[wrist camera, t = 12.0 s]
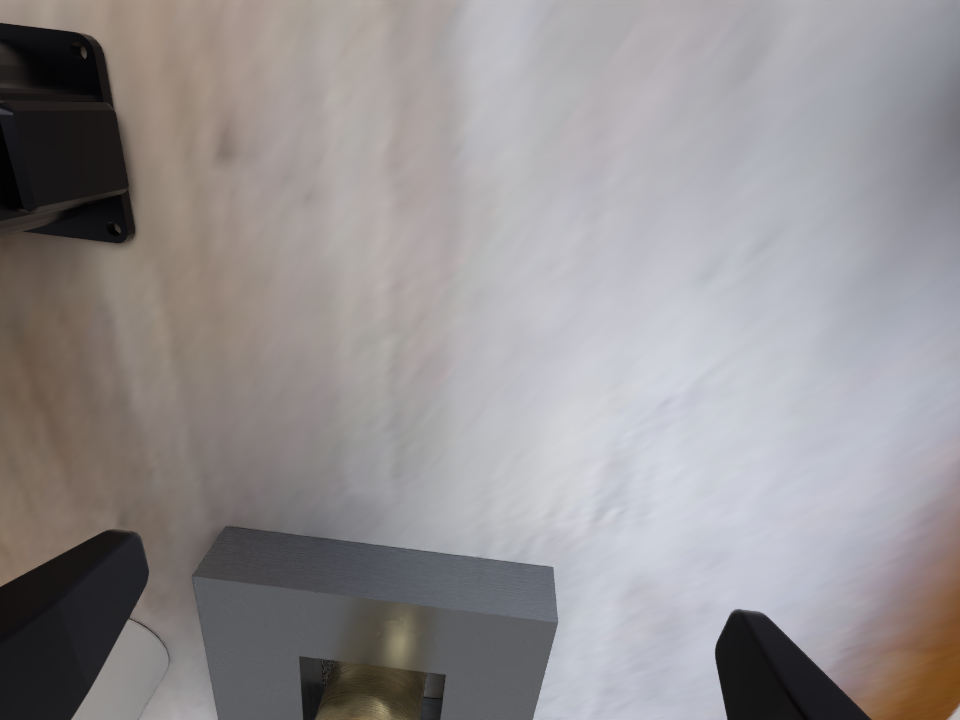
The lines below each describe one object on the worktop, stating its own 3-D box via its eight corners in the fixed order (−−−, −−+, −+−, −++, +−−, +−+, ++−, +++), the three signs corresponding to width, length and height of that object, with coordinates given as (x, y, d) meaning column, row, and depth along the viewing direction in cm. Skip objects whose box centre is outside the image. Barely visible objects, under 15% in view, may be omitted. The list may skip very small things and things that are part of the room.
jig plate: (252, 720, 32) (228, 776, 30) (225, 526, 25) (191, 576, 23) (508, 753, 32) (508, 812, 30) (553, 567, 25) (558, 622, 23)
